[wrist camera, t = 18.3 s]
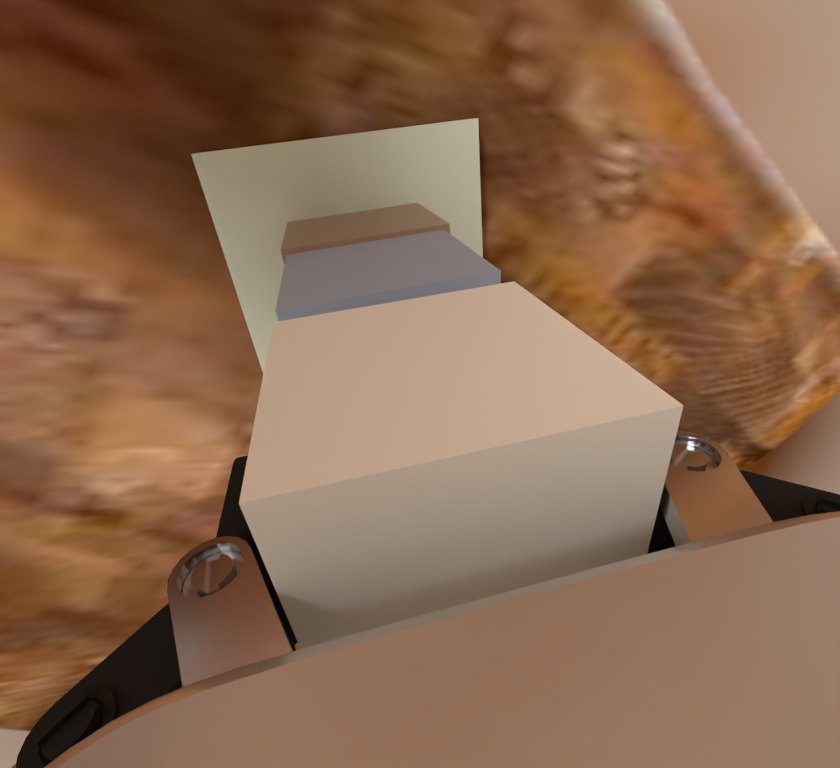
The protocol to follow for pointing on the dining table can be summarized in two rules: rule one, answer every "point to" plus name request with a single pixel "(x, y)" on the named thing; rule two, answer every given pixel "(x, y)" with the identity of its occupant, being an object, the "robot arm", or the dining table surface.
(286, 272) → the slate brick
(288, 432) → the cream brick
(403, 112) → the dining table surface
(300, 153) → the baseplate
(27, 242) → the dining table surface
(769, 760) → the robot arm
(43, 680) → the dining table surface
